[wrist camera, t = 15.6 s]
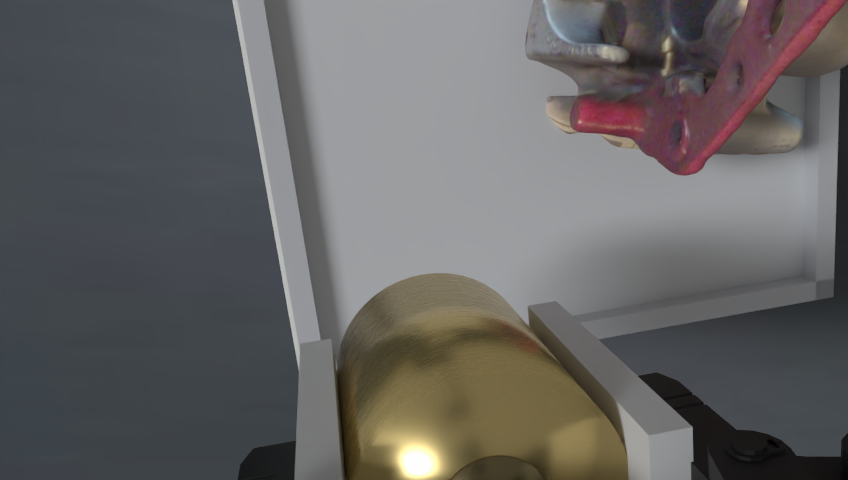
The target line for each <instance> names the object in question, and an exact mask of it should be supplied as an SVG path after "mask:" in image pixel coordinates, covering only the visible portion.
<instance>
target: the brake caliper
mask: <svg viewBox="0 0 848 480" xmlns="http://www.w3.org/2000/svg"><path fill="white" fill-rule="evenodd" d="M525 53H526V56H527V58H528V59H530V60H534V61H538V62H540V63H542V64H544V65H547V66H549V67H552V68H554V69H557V70H559V71H561V72H563V73H565V74H566V75H568V76H569V77H571V78H572V79H573V80H574V82H575V83H576V84H577V86H578V93H577V95H576V96H549V97H548V98H547V99H546V103H547V110H546V113H547V115H548V116H549V117H550V118H551V119H552V120H553V122H554V123H555V124H556V125H557V127H558V128H559V129H561V130H562V131H564V132H565V133H567V134H572V133H577V132H581V133H594V134H600V135H601V136H602V137H603V138H605V139H606V140H607V141H608V142H609V143H610V144H611V145H614V146H617V147H619V148H631V149H640V150H641V151H642V152H643V153H644V154H645V155H647V156H650V157H654V158H655V159H656V160H657V161H658V162H659V163H660V164H661V165H662V166H664V167H665V168H666V169H667V170H669V171H670V172H672V173H674V174H676V175H682V176H686V175H691V174H696V173H697V172H699V171H700V170H701V169H703V167H704V165H705V163H706V161H707V160H708V159H709V158H710V157H711V156H712V155H713V154H726V155H739V154H750V155H762V154H775V153H787V152H790V151H792V150H793V149H795V148H796V147H797V146H798V144H799V142H800V140H801V138H802V135H803V122H802V120H801V119H799V118H798V117H797V116H795V115H793V114H791V113H789V112H787V111H785V110H784V109H782V108H780V107H777V106H776V105H774V104H772V103H771V102H770V101H769V100H768V99H767V95H768V92H769V90H770V89H771V88H772V86H773V85H774V84H775V82H776V80H777V79H778V77H779V76H780V75H781V76H793V77H816V76H821V75H824V74H828V73H830V72H833V71H836V70H839V69H841V68H843V67H844V66H846V65H848V0H533V4H532V8H531V13H530V18H529V22H528V27H527V33H526V41H525Z"/></svg>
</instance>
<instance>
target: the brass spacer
mask: <svg viewBox="0 0 848 480" xmlns="http://www.w3.org/2000/svg"><path fill="white" fill-rule="evenodd" d="M337 378H338V390H339V402H340V414H341V426H342V438H343V450H344V462H345V473H346V480H629V477H628V459H627V456H626V452H625V448H624V446H623V444H622V442H621V439H620V437H619V435H618V433H617V431H616V430H615V428H614V427H613V425H612V423H611V422H610V420H609V419H608V418H607V417H606V416H605V414H604V413H603V412H602V411H601V410H600V409H599V407H598V406H597V405H596V404H595V403H594V402H593V401H592V399H591V398H590V397H589V396H588V395H587V394H586V392H585V391H584V390H583V389H582V388H581V387H580V385H579V384H578V383H577V382H576V381H575V380H574V378H573V377H572V376H571V375H570V374H569V373H568V372H567V370H566V369H565V368H564V367H563V366H562V365H561V363H560V362H559V361H558V360H557V359H556V358H555V356H554V355H553V354H552V353H551V352H550V351H549V349H548V348H547V347H546V346H545V345H544V344H543V343H542V341H541V340H540V339H539V338H538V337H537V336H536V334H535V333H534V332H533V331H532V330H531V329H530V327H529V326H528V325H527V324H526V323H525V322H524V320H523V319H522V318H521V317H520V316H519V315H518V314H517V312H516V311H515V310H514V309H513V308H512V307H511V305H510V304H509V303H508V302H507V301H506V300H505V299H504V298H503V297H502V296H501V295H500V294H499V293H497V292H496V291H495V290H493V289H492V288H490V287H489V286H487V285H486V284H483V283H481V282H479V281H477V280H475V279H472V278H469V277H465V276H462V275H456V274H450V273H431V274H422V275H418V276H413V277H409V278H407V279H404V280H401V281H398V282H396V283H394V284H392V285H390V286H388V287H386V288H385V289H383V290H382V291H380V292H379V293H377V294H376V295H375V296H374V297H372V298H371V299H370V300H369V301H368V302H367V303H366V304H365V305H364V306H363V307H362V308H361V309H360V310H359V311H358V313H357V314H356V315H355V317H354V318H353V320H352V321H351V323H350V324H349V326H348V328H347V330H346V332H345V334H344V336H343V339H342V342H341V345H340V348H339V353H338V358H337Z"/></svg>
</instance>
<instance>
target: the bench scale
mask: <svg viewBox="0 0 848 480" xmlns="http://www.w3.org/2000/svg"><path fill="white" fill-rule="evenodd" d="M532 4H533V0H233V5H234V11H235V17H236V22H237V28H238V33H239V39H240V44H241V50H242V56H243V61H244V67H245V72H246V78H247V84H248V89H249V95H250V100H251V106H252V112H253V117H254V123H255V128H256V134H257V139H258V145H259V151H260V156H261V162H262V167H263V173H264V179H265V184H266V190H267V195H268V201H269V206H270V212H271V218H272V223H273V229H274V234H275V240H276V246H277V251H278V257H279V262H280V268H281V274H282V279H283V285H284V290H285V296H286V301H287V307H288V313H289V318H290V324H291V329H292V335H293V341H294V346H295V352H296V357H297V363H298V368H299V363H300V344H301V343H307V342H313V341H319V340H325V339H332V345H333V351H334V357H335V364H336V370H337V358H338V353H339V348H340V345H341V342H342V339H343V336H344V334H345V332H346V330H347V328H348V326H349V324H350V323H351V321H352V320H353V318H354V317H355V315H356V314H357V313H358V311H359V310H360V309H361V308H362V307H363V306H364V305H365V304H366V303H367V302H368V301H369V300H370V299H371V298H372V297H374V296H375V295H376V294H377V293H379V292H380V291H382V290H383V289H385V288H386V287H388V286H390V285H392V284H394V283H396V282H398V281H401V280H404V279H407V278H409V277H413V276H418V275H422V274H431V273H450V274H456V275H462V276H465V277H469V278H472V279H475V280H477V281H479V282H481V283H483V284H486V285H487V286H489V287H490V288H492V289H493V290H495V291H496V292H497V293H499V294H500V295H501V296H502V297H503V298H504V299H505V300H506V301H507V302H508V303H509V304H510V305H511V307H512V308H513V309H514V310H515V311H516V312H517V314H518V315H519V316H520V317H521V318H522V319H523V320H524V322H525V323H526V324H527V325H528V326H529V317H528V306H529V305H535V304H541V303H547V302H553V301H557V302H558V303H559V304H560V305H561V306H562V307H563V308H564V309H566V310H567V311H568V312H569V313H570V314H571V315H572V316H573V317H574V318H575V319H576V320H577V321H578V322H580V323H581V324H582V325H583V326H584V327H585V328H586V329H587V330H588V331H589V332H590V333H591V334H593V335H594V336H595V337H596V338H597V339H602V338H608V337H613V336H619V335H624V334H630V333H636V332H641V331H647V330H652V329H658V328H663V327H669V326H675V325H680V324H686V323H691V322H697V321H702V320H708V319H714V318H719V317H725V316H730V315H736V314H741V313H747V312H753V311H758V310H764V309H769V308H775V307H780V306H786V305H792V304H797V303H803V302H808V301H814V300H819V299H825V298H831V297H834V264H835V230H836V196H837V162H838V128H839V94H840V69H839V70H836V71H833V72H830V73H828V74H824V75H821V76H816V77H793V76H781V75H780V76H779V77H778V79H777V80H776V82H775V84H774V85H773V86H772V88H771V89H770V90H769V92H768V95H767V99H768V100H769V101H770V102H771V103H772V104H774V105H776V106H777V107H780V108H782V109H784V110H785V111H787V112H789V113H791V114H793V115H795V116H797V117H798V118H799V119H801V120H802V122H803V135H802V138H801V140H800V142H799V144H798V146H797V147H796V148H795V149H793V150H792V151H790V152H787V153H775V154H762V155H750V154H739V155H726V154H713V155H712V156H711V157H710V158H709V159H708V160H707V161H706V163H705V165H704V167H703V169H701V170H700V171H699V172H697V173H696V174H691V175H686V176H682V175H676V174H674V173H672V172H670V171H669V170H667V169H666V168H665V167H664V166H662V165H661V164H660V163H659V162H658V161H657V160H656V159H655V158H654V157H650V156H647V155H645V154H644V153H643V152H642V151H641V150H640V149H631V148H619V147H617V146H614V145H611V144H610V143H609V142H608V141H607V140H606V139H605V138H603V137H602V136H601V135H600V134H594V133H581V132H577V133H572V134H567V133H565V132H564V131H562V130H561V129H559V128H558V127H557V125H556V124H555V123H554V122H553V120H552V119H551V118H550V117H549V116H548V115H547V113H546V110H547V103H546V99H547V98H548V97H549V96H576V95H577V93H578V86H577V84H576V83H575V82H574V80H573V79H572V78H571V77H569V76H568V75H566V74H565V73H563V72H561V71H559V70H557V69H554V68H552V67H549V66H547V65H544V64H542V63H540V62H538V61H534V60H530V59H528V58H527V56H526V53H525V41H526V33H527V27H528V22H529V18H530V13H531V8H532Z"/></svg>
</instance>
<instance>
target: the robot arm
mask: <svg viewBox="0 0 848 480" xmlns="http://www.w3.org/2000/svg"><path fill="white" fill-rule="evenodd" d="M528 317H529V327H530V329H531V330H532V331H533V332H534V333H535V334H536V336H537V337H538V338H539V339H540V340H541V341H542V343H543V344H544V345H545V346H546V347H547V348H548V349H549V351H550V352H551V353H552V354H553V355H554V356H555V358H556V359H557V360H558V361H559V362H560V363H561V365H562V366H563V367H564V368H565V369H566V370H567V372H568V373H569V374H570V375H571V376H572V377H573V378H574V380H575V381H576V382H577V383H578V384H579V385H580V387H581V388H582V389H583V390H584V391H585V392H586V394H587V395H588V396H589V397H590V398H591V399H592V401H593V402H594V403H595V404H596V405H597V406H598V407H599V409H600V410H601V411H602V412H603V413H604V414H605V416H606V417H607V418H608V419H609V420H610V422H611V423H612V425H613V427H614V428H615V430H616V431H617V433H618V435H619V437H620V439H621V442H622V444H623V446H624V448H625V452H626V456H627V459H628V477H629V480H848V434H846V436H845V437H844V438H843V439H842V440H841V457H804V456H796V455H795V453H794V452H793V451H792V450H791V448H790V447H788V446H787V445H786V444H785V443H784V442H783V441H781V440H779V439H777V438H775V437H773V436H771V435H768V434H764V433H760V432H756V431H748V430H736V429H735V428H734V427H732V426H731V425H730V424H729V423H728V422H726V421H725V420H724V419H723V418H722V417H720V416H719V415H718V414H717V413H716V412H714V411H713V410H712V409H711V408H710V407H708V406H707V405H704V404H703V402H702V401H701V400H700V399H699V398H698V397H696V396H695V395H692V392H690V391H689V390H688V389H687V388H686V387H684V386H683V385H682V384H681V383H680V382H679V381H677V380H674V379H672V378H669V377H667V376H664V375H662V374H659V373H652V374H646V375H641V376H637V375H636V374H635V373H634V372H633V371H631V370H630V369H629V368H628V367H627V366H626V365H625V364H624V363H623V362H622V361H621V360H620V359H619V358H617V357H616V356H615V355H614V354H613V353H612V352H611V351H610V350H609V349H608V348H607V347H606V346H604V345H603V344H602V343H601V342H600V341H599V340H598V339H597V338H596V337H595V336H594V335H593V334H591V333H590V332H589V331H588V330H587V329H586V328H585V327H584V326H583V325H582V324H581V323H580V322H578V321H577V320H576V319H575V318H574V317H573V316H572V315H571V314H570V313H569V312H568V311H567V310H566V309H564V308H563V307H562V306H561V305H560V304H559V303H558V302H557V301H553V302H547V303H541V304H535V305H529V306H528ZM238 480H346V473H345V462H344V450H343V438H342V426H341V414H340V402H339V390H338V378H337V370H336V364H335V357H334V351H333V345H332V339H325V340H319V341H313V342H307V343H301V344H300V363H299V386H298V409H297V431H296V441H292V442H286V443H281V444H275V445H270V446H265V447H259V448H254V449H253V450H252V451H251V452H250V453H249V455H248V456H247V457H246V458H245V460H244V461H243V462H242V463H241V465H240V470H239V475H238Z"/></svg>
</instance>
